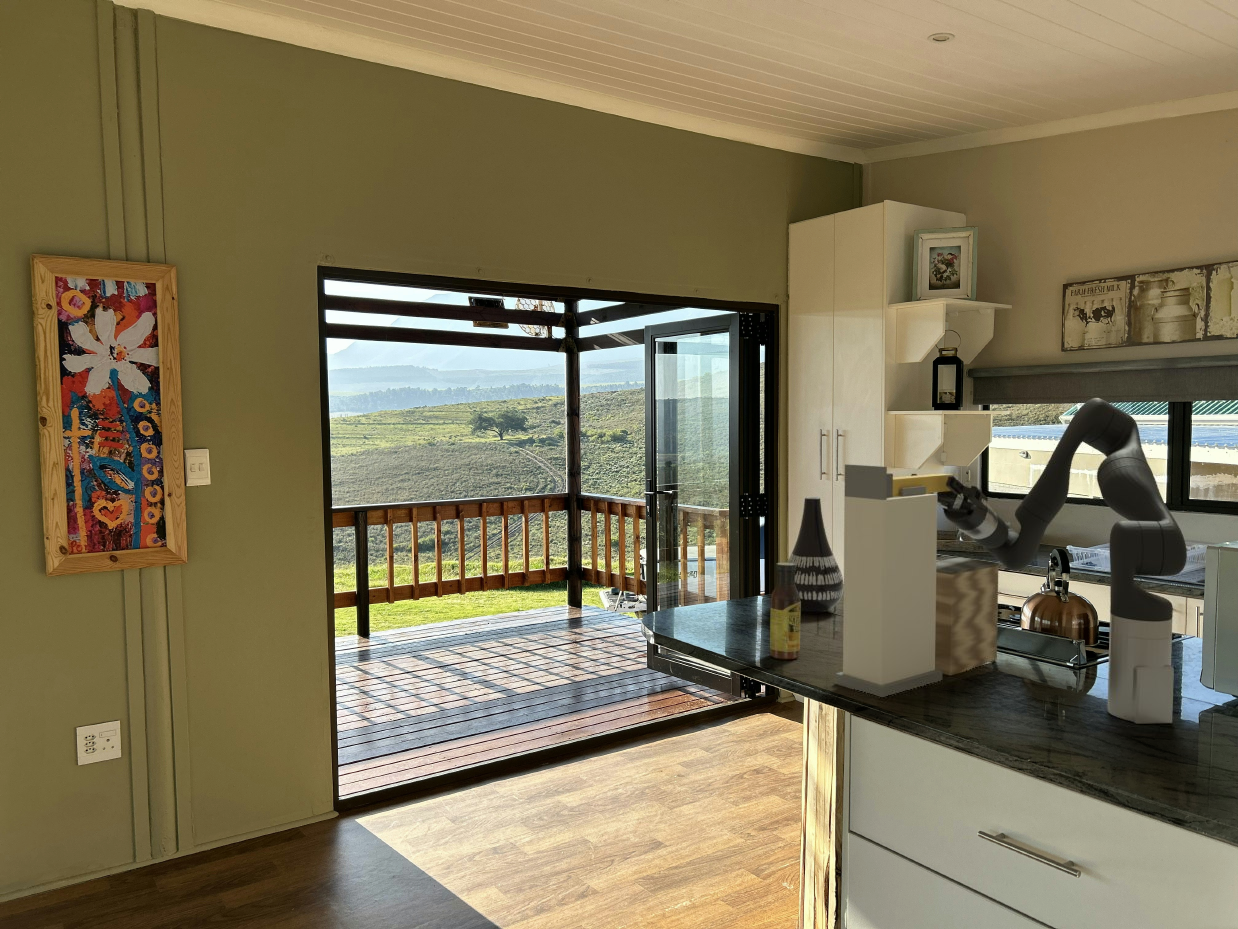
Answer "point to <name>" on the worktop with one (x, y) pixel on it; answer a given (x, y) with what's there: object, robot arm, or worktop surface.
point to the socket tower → (888, 585)
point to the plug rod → (917, 483)
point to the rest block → (965, 614)
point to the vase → (815, 563)
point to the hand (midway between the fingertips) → (930, 479)
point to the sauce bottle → (785, 614)
